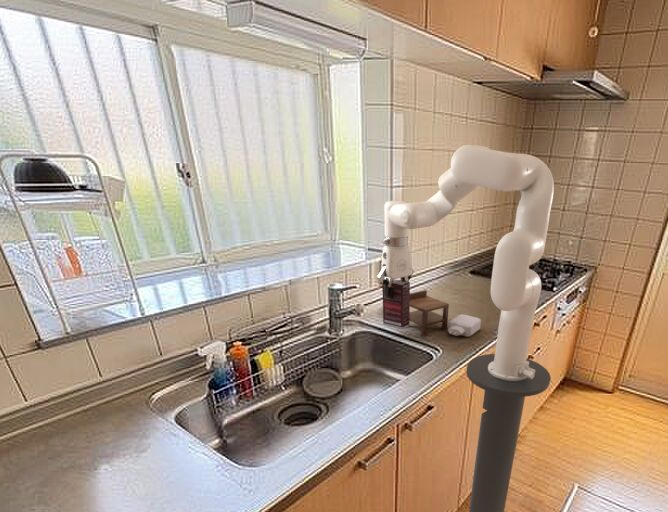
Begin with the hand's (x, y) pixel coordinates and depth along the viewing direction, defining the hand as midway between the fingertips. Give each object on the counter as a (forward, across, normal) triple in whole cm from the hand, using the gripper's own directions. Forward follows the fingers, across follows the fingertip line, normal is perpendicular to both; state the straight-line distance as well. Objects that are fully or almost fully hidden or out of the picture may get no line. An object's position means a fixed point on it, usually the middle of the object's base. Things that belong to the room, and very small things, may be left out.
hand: (396, 295), depth 144 cm
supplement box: (+11, 0, 0) cm, 11 cm away
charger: (+16, +21, -12) cm, 29 cm away
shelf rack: (+15, +14, 0) cm, 20 cm away
